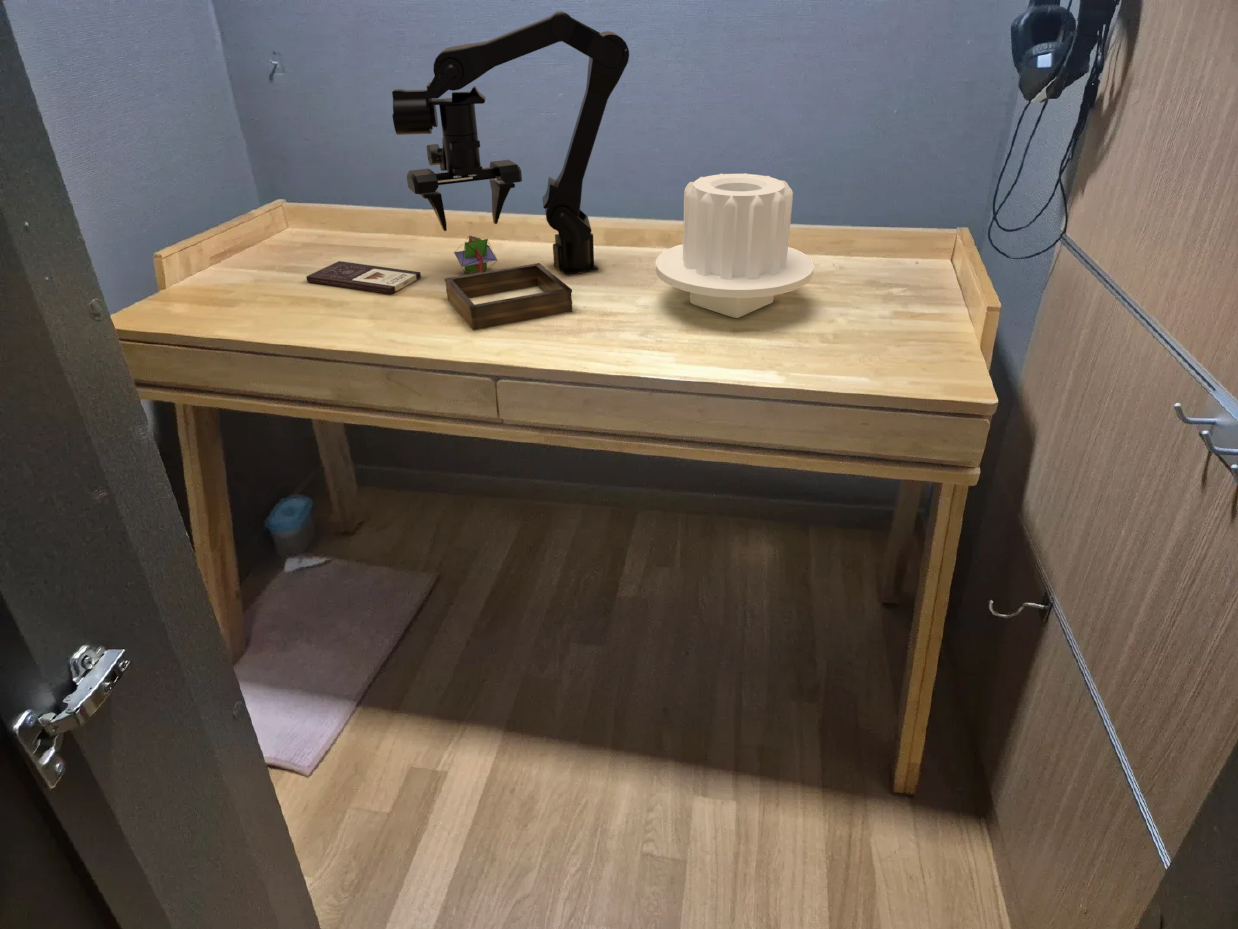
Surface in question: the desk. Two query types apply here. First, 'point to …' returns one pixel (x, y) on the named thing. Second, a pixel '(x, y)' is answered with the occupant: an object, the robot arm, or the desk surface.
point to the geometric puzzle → (475, 255)
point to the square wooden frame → (510, 309)
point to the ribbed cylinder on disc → (735, 244)
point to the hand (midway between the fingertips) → (470, 226)
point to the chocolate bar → (364, 277)
